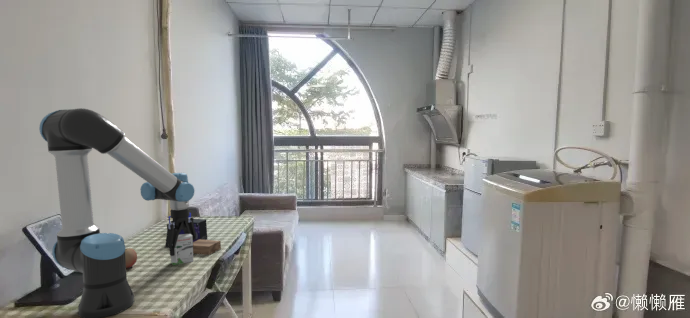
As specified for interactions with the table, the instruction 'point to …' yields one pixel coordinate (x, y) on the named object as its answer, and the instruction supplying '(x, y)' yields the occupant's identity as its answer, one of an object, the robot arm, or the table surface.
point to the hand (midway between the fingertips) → (182, 258)
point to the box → (198, 229)
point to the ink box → (184, 249)
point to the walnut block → (206, 246)
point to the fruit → (130, 257)
